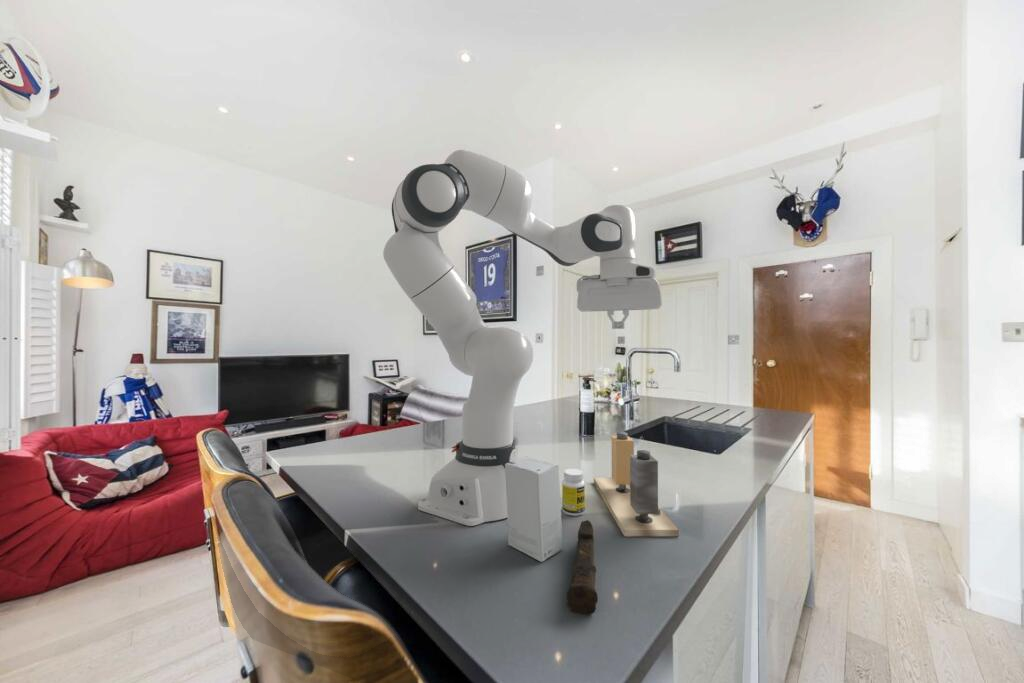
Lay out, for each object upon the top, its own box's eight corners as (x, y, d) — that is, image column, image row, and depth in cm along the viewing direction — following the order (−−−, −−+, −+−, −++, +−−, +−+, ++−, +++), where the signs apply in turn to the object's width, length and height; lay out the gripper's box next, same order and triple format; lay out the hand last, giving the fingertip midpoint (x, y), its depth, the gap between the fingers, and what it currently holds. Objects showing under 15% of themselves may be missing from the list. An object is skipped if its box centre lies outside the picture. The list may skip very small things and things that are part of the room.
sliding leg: (616, 491, 84) (616, 435, 84) (611, 485, 88) (611, 431, 88) (633, 491, 84) (633, 435, 84) (628, 485, 88) (628, 431, 88)
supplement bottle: (579, 518, 75) (579, 477, 75) (558, 513, 78) (558, 473, 78) (588, 509, 79) (588, 470, 79) (567, 504, 82) (567, 466, 82)
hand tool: (597, 620, 48) (597, 584, 48) (566, 613, 49) (566, 579, 49) (602, 543, 66) (602, 518, 66) (580, 540, 68) (580, 515, 68)
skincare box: (563, 550, 64) (562, 464, 64) (540, 565, 60) (539, 473, 60) (527, 532, 70) (527, 453, 70) (504, 544, 66) (504, 461, 66)
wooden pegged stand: (624, 536, 68) (624, 458, 68) (593, 482, 94) (593, 425, 94) (678, 536, 68) (678, 458, 68) (633, 482, 94) (632, 425, 94)
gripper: (574, 274, 93) (574, 329, 93) (661, 268, 86) (662, 327, 86) (578, 278, 99) (578, 329, 99) (660, 272, 92) (661, 328, 92)
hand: (618, 328), depth 92 cm, fingers closed
